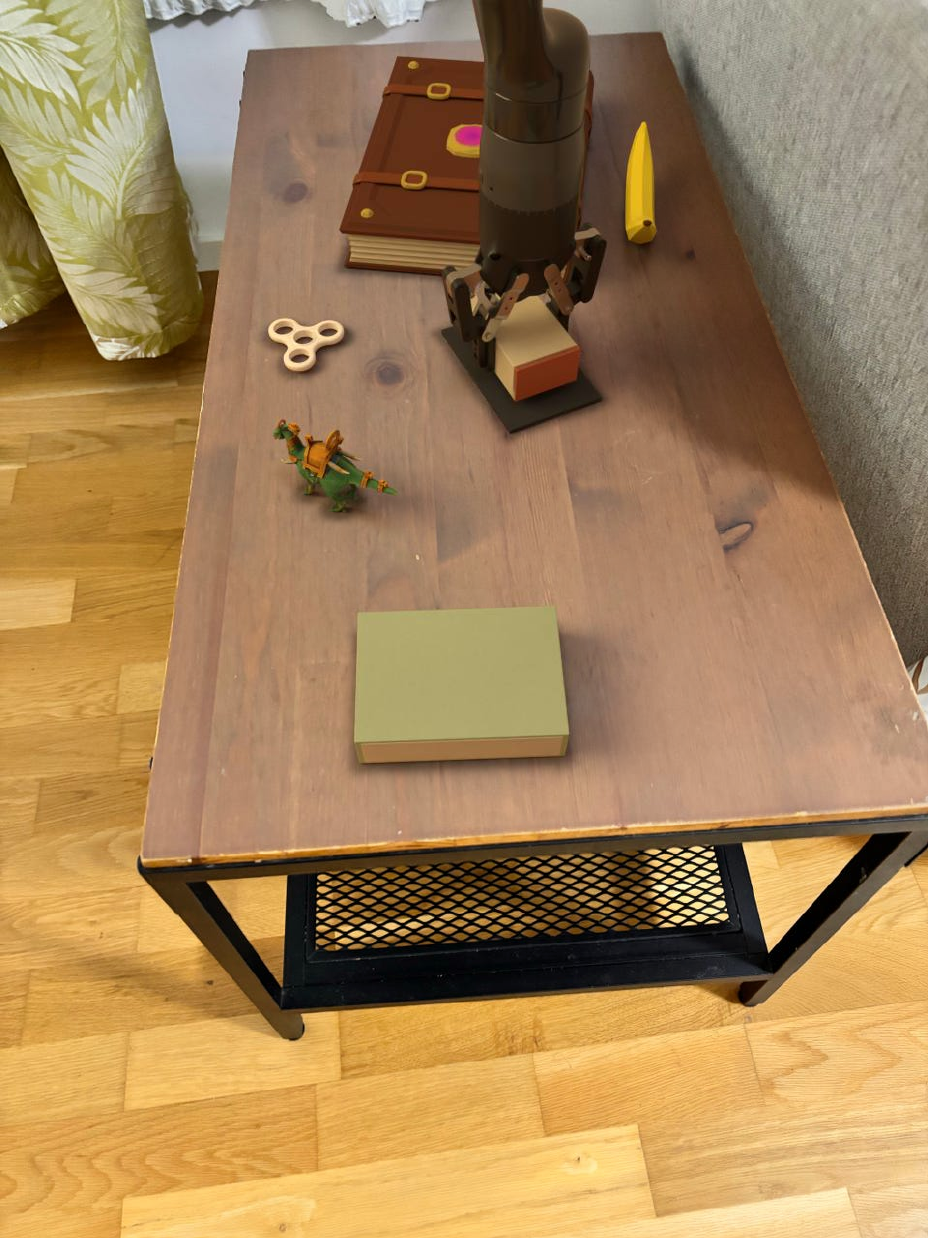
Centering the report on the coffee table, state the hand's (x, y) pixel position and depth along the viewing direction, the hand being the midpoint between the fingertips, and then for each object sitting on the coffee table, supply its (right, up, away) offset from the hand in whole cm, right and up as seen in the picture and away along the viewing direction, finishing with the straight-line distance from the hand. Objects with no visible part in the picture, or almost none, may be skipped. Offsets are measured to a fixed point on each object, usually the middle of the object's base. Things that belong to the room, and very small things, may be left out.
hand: (519, 353), depth 82 cm
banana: (+13, +17, +13) cm, 25 cm away
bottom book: (-5, -29, -16) cm, 34 cm away
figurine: (-15, -14, -7) cm, 22 cm away
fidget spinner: (-20, +1, +3) cm, 20 cm away
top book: (0, 0, 0) cm, 0 cm away
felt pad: (0, -1, +1) cm, 1 cm away
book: (-4, +23, +16) cm, 28 cm away
